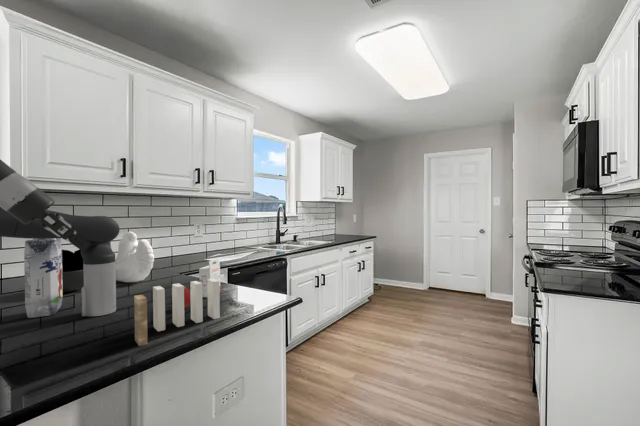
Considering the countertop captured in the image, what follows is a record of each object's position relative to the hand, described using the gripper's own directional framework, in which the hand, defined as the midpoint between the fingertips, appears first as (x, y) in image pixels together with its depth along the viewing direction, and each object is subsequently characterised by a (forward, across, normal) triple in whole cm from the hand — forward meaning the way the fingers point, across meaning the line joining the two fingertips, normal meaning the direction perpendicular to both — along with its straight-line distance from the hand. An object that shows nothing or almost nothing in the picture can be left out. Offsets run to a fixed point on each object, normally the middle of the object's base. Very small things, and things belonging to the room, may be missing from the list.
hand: (85, 246), depth 81 cm
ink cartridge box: (+50, -37, +13) cm, 64 cm away
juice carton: (+13, -50, -25) cm, 57 cm away
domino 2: (+35, -8, -2) cm, 36 cm away
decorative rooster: (+36, -87, -1) cm, 94 cm away
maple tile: (+27, 0, -10) cm, 29 cm away
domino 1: (+31, -8, -6) cm, 33 cm away
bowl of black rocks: (+18, -85, -20) cm, 89 cm away
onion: (+40, -24, +3) cm, 47 cm away
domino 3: (+39, -8, +2) cm, 40 cm away
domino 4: (+43, -8, +6) cm, 44 cm away
